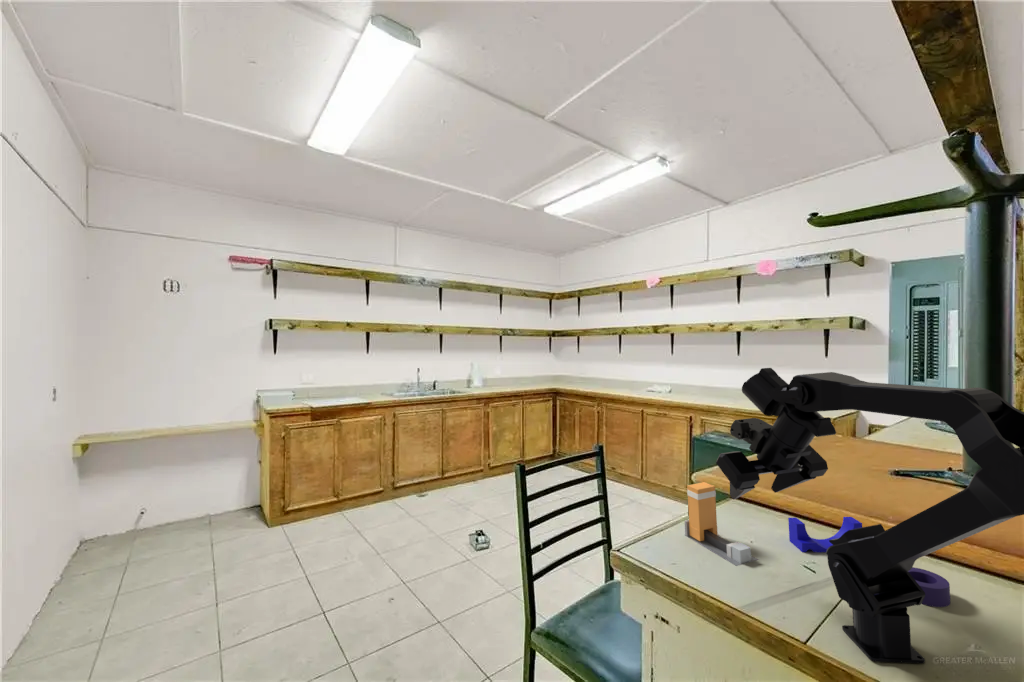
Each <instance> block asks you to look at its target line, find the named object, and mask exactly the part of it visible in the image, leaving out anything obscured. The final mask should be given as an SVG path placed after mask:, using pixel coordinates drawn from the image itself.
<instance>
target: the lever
mask: <svg viewBox="0 0 1024 682" xmlns="http://www.w3.org/2000/svg"><path fill="white" fill-rule="evenodd" d="M908 572H909V573H910V574H911V576H912V577H913V578H914V579H915V581H916V582H917V583H918V584H919V586H920V587H921V588H922V590H923V591H924V592H925V597H924V599H923V602H922V604H921V605H925V606H928V607H935V608H944V607H948V606H950V604H951V589H950V588H951V585H950V582H949V580H947V579H946V577H945V578H944V577H943V576H942V575H940V574H937V573H935V572H932V571H930V570H926V569H923V568H919V567H912V569H911V570H909V571H908Z"/></svg>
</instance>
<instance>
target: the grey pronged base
mask: <svg viewBox="0 0 1024 682" xmlns="http://www.w3.org/2000/svg"><path fill="white" fill-rule="evenodd" d="M684 536H685V537H687V538H688V539H690V540H692V541H693V542H695V543H697V544H698V545H701V546H702V547H703V548H705V549H706V550H708V551H710V552H712V553H714V554H715V555H717V556H718V557H720V558H722V559H724V560H726V561H727V562H728V563H730V564H732V565H733V566H736V567H739V566H741V565H745V564H748V563H751V562H756V561H758V560H759V558H757V557H755V556H753V555H752V549H751V547H750V546H748V545H746V544H745V543H742V542H739V541H734V542H730V541H728V540H727V539H725V538H723V537H721V536H719V534H718V535H716V534H714V533H712V532H710V531H708V530H707V529H705V530H704V541H698V540H697V539H695V538H693V537H692V536H690V531H689V519H686V520H684Z"/></svg>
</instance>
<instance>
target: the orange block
mask: <svg viewBox="0 0 1024 682" xmlns="http://www.w3.org/2000/svg"><path fill="white" fill-rule="evenodd" d="M716 492H717V491H716V486H715V485H713V484H710V483H708V482H706V481H703V482H697V483H692V484H687V489H686V493H687V494H686V495H687V502H688V503H687V504H688V520H689V531H690V536H692V537H693V538H695V539H697V540H698V541H704V530H705V529H707V530H708V531H710V532H712V533H714V534H716V535H718V536H719V534H718V522H717V521H718V519H717V518H718V517H717V504H716V503H717V502H716V501H717V500H716V499H717V498H716V497H717V493H716Z"/></svg>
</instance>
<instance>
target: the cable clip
mask: <svg viewBox="0 0 1024 682" xmlns="http://www.w3.org/2000/svg"><path fill="white" fill-rule="evenodd" d="M787 520H788V534H789V535H788V536H789V542H790V543H791V544H792V545H793V546H794V547H795V548H797V549H798V550H799V551H800V552H801V553H807V551H809V550H810V551H812V552H813V553H826V551H827V549H828V548H829V547H830V546H832V545H833V544H831V543H830V542H829V540H832V539H837V538H840V537H841V536H842V535H843V534H844V533H845V532H847V531H848V530H852V529H857V528H862V527H863V522H860V520H857V519H856V518H854V517H853V516H843V519H842V525H841V527H840V529H839V530H838V531H837V532H836V533H835V534H834V535H832V536H830V537H827V538H821V539H820V538H819V539H818V538H814V537H810V535H809V534H808V531H807V529H806V525H805V522H803V521H801V520H800V519H799V518H797V517H788V519H787Z"/></svg>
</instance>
